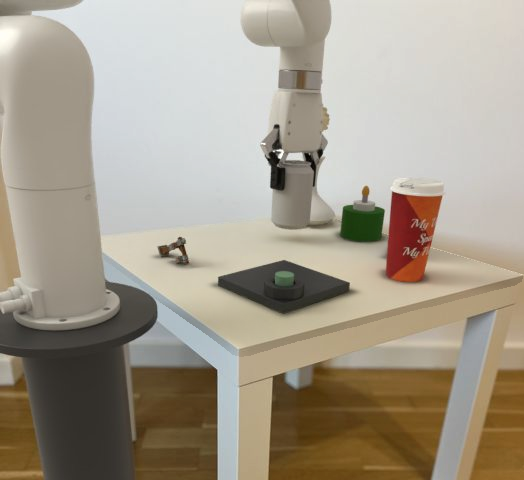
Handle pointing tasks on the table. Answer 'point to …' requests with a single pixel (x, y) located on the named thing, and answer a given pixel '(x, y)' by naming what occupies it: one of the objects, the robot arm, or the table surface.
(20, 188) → the robot arm
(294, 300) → the dark grey flat block
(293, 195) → the can
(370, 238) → the candle
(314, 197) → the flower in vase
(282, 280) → the button
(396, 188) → the coffee cup
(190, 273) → the table surface
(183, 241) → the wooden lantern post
